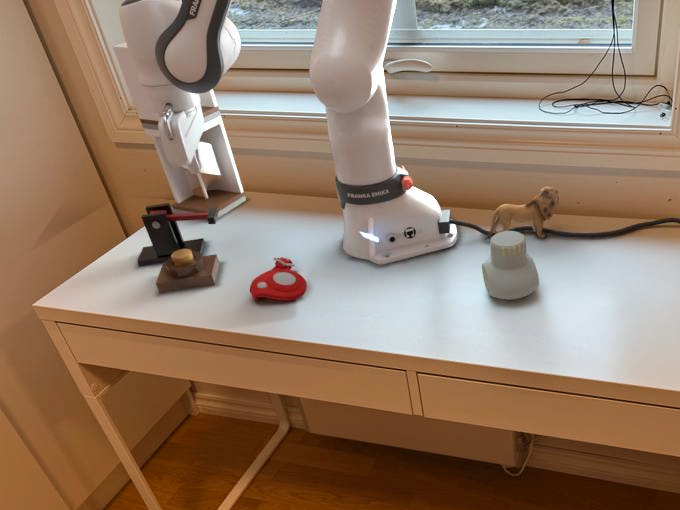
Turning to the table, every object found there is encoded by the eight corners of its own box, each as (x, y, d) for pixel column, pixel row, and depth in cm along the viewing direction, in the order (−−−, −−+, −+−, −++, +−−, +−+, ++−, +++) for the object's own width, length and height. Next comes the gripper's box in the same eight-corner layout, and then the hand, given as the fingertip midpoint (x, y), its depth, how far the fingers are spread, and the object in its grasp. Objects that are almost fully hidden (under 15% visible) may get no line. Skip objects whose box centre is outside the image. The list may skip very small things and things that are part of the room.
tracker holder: (316, 288, 123) (260, 296, 118) (314, 307, 126) (259, 316, 121) (291, 248, 130) (237, 254, 124) (289, 267, 133) (236, 274, 127)
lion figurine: (554, 223, 138) (554, 180, 133) (563, 235, 134) (563, 191, 129) (482, 235, 136) (479, 192, 131) (489, 248, 132) (485, 204, 127)
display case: (175, 213, 155) (112, 46, 134) (209, 193, 163) (154, 32, 141) (213, 220, 151) (155, 49, 129) (246, 200, 158) (196, 34, 137)
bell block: (220, 264, 135) (213, 245, 133) (215, 285, 129) (208, 266, 127) (167, 272, 134) (159, 253, 132) (159, 293, 128) (151, 274, 126)
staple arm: (219, 215, 139) (216, 204, 138) (216, 226, 135) (213, 215, 134) (155, 218, 137) (152, 207, 136) (150, 230, 133) (147, 218, 132)
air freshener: (542, 303, 116) (540, 250, 110) (493, 311, 115) (489, 258, 109) (526, 270, 125) (524, 220, 119) (481, 278, 124) (477, 227, 118)
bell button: (195, 255, 131) (192, 247, 130) (192, 265, 128) (189, 256, 127) (176, 258, 131) (172, 250, 130) (172, 268, 128) (169, 259, 127)
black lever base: (205, 243, 143) (189, 198, 137) (201, 257, 138) (185, 211, 132) (145, 252, 142) (126, 207, 136) (139, 266, 137) (119, 221, 131)
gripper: (181, 112, 115) (206, 191, 123) (198, 77, 131) (219, 149, 139) (141, 117, 114) (170, 196, 122) (163, 81, 130) (187, 153, 138)
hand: (196, 170), depth 131 cm, fingers closed
